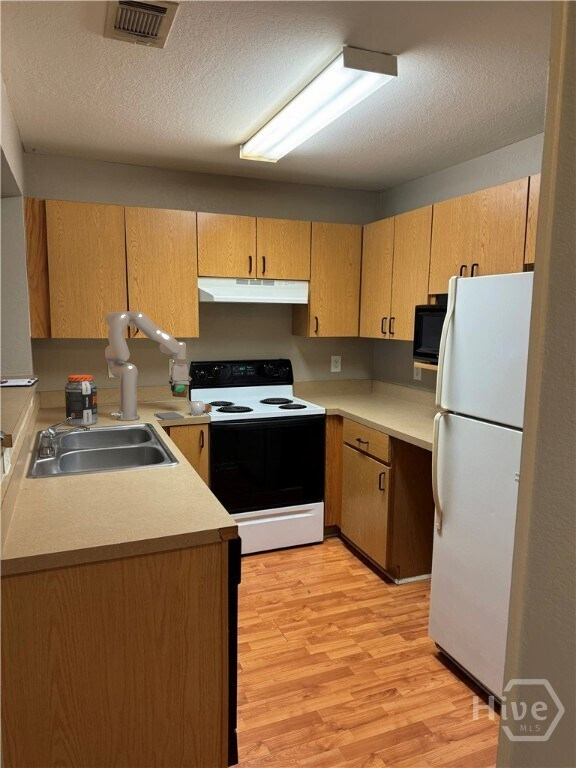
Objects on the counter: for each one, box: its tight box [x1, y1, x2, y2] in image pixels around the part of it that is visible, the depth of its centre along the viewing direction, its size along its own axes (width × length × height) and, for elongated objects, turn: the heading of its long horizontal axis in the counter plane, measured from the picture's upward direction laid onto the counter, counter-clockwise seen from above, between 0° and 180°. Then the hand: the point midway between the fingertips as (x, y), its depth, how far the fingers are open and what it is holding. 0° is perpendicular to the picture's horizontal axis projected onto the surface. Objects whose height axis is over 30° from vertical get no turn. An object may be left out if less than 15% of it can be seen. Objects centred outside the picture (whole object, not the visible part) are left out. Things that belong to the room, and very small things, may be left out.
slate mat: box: [153, 411, 185, 421], centre depth 298 cm, size 12×16×1 cm
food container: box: [171, 381, 190, 398], centre depth 312 cm, size 12×6×10 cm, turn 60°
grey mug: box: [190, 400, 206, 417], centre depth 304 cm, size 8×7×8 cm
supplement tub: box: [64, 374, 99, 427], centre depth 273 cm, size 16×16×26 cm
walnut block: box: [203, 403, 213, 414], centre depth 312 cm, size 5×5×5 cm
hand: (178, 391), depth 313 cm, fingers closed on food container, 6 cm apart
